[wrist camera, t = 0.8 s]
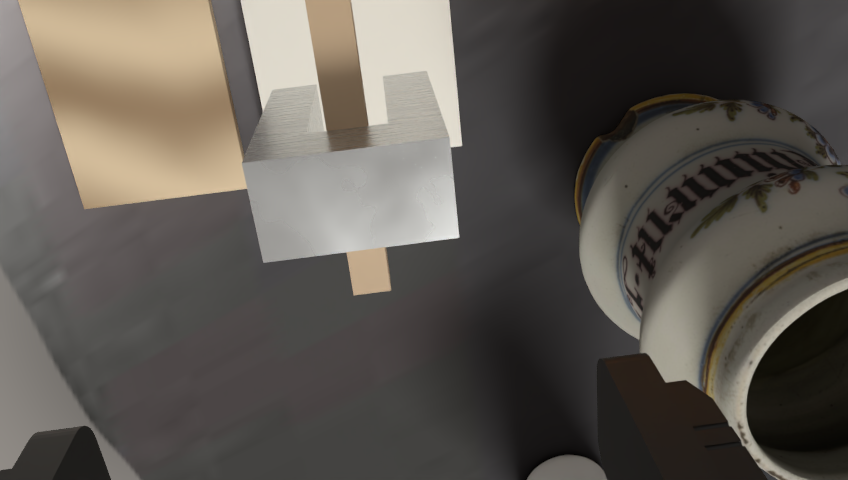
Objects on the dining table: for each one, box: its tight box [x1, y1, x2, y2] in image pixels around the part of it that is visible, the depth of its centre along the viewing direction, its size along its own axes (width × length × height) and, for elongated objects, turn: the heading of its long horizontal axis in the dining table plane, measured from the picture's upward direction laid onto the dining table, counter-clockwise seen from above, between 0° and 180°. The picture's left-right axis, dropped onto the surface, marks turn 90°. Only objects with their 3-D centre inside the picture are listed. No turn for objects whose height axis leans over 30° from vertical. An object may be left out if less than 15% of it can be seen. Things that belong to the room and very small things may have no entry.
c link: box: [242, 71, 459, 263], centre depth 25 cm, size 3×6×8 cm, turn 96°
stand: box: [241, 0, 462, 295], centre depth 28 cm, size 16×9×16 cm, turn 6°
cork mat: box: [18, 0, 247, 209], centre depth 36 cm, size 10×8×1 cm
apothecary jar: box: [575, 93, 848, 480], centre depth 32 cm, size 12×12×18 cm
